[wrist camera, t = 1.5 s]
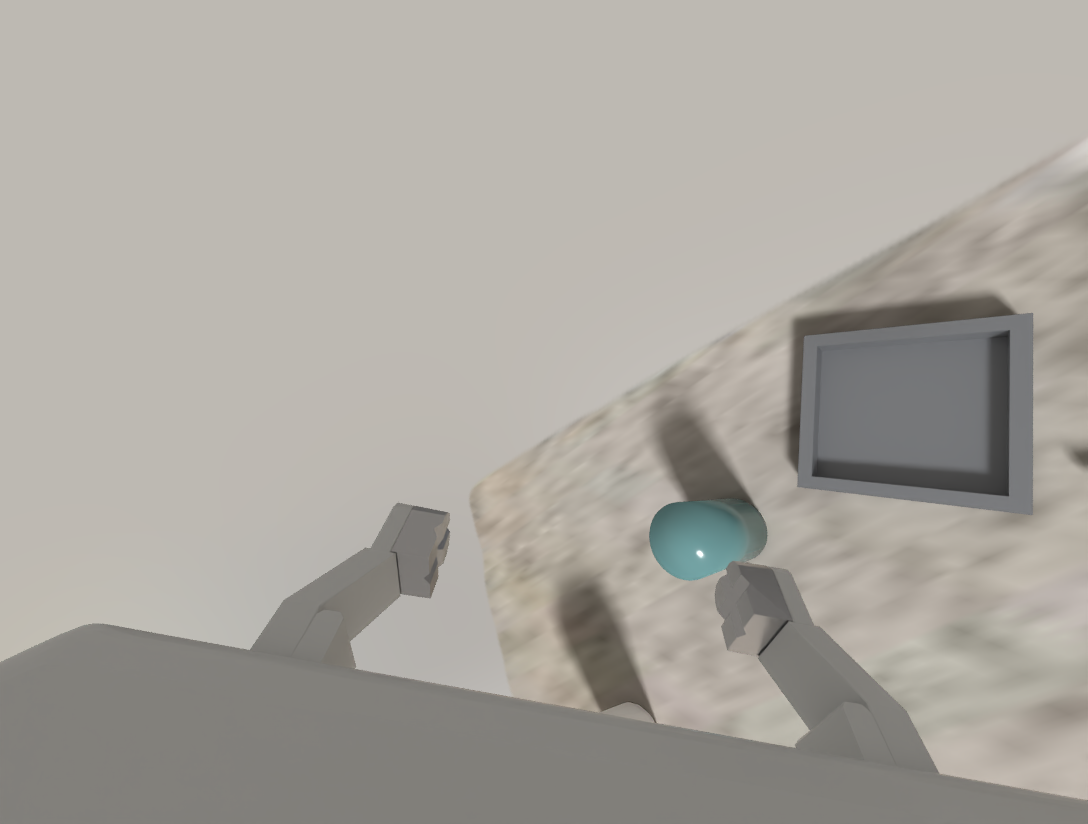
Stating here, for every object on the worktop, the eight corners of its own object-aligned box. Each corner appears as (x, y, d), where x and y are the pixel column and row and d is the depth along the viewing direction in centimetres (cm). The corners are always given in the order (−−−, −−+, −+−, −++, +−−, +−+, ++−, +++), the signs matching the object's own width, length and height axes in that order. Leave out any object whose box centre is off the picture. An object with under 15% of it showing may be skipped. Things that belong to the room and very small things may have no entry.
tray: (1027, 325, 30) (1033, 313, 27) (1026, 512, 29) (1032, 514, 26) (812, 343, 39) (804, 335, 37) (806, 486, 38) (797, 486, 36)
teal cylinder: (768, 503, 40) (722, 509, 32) (765, 568, 39) (718, 590, 31) (706, 494, 44) (651, 497, 36) (702, 552, 43) (646, 568, 36)
